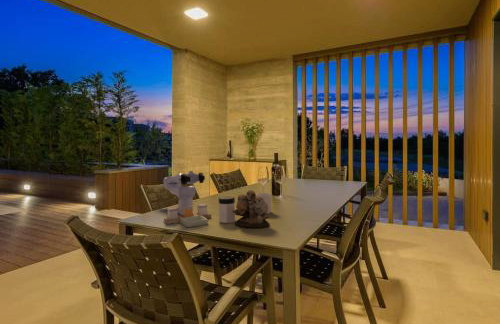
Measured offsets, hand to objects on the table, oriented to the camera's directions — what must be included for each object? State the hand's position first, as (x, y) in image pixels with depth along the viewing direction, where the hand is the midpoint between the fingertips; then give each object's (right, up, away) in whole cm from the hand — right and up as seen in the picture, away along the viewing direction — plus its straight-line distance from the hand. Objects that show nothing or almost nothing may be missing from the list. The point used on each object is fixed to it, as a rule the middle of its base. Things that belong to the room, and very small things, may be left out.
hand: (196, 178), depth 158 cm
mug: (+33, -20, +16) cm, 42 cm away
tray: (0, -22, -5) cm, 23 cm away
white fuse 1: (-12, -22, -1) cm, 25 cm away
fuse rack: (-5, -22, +3) cm, 22 cm away
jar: (+16, -22, -2) cm, 27 cm away
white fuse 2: (+2, -21, +7) cm, 22 cm away
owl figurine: (+28, -22, -11) cm, 37 cm away
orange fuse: (-5, -22, +3) cm, 22 cm away
